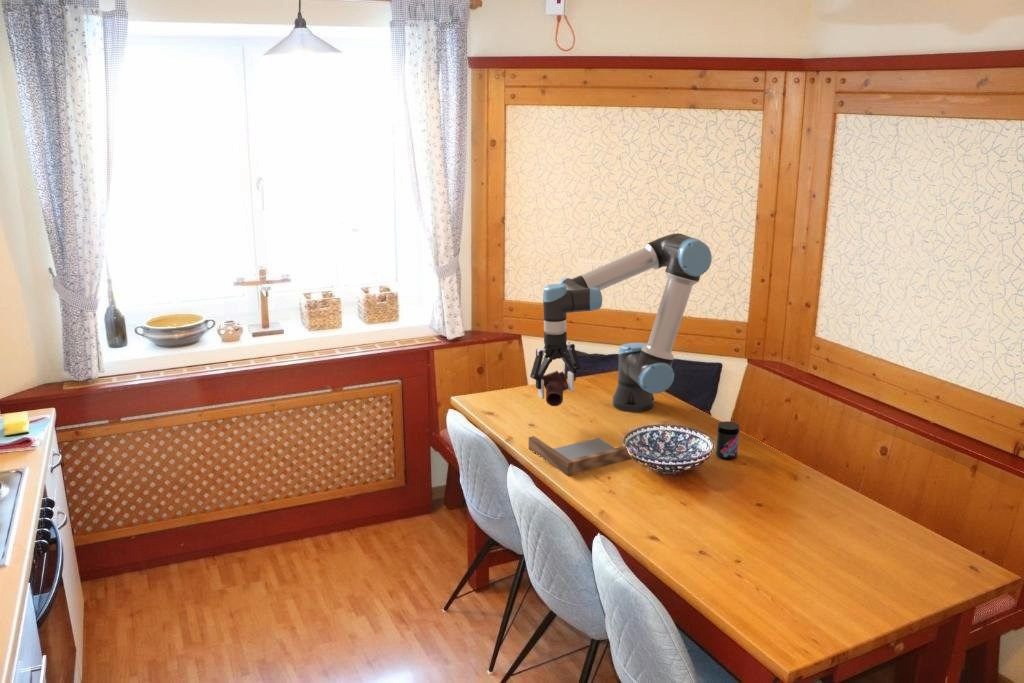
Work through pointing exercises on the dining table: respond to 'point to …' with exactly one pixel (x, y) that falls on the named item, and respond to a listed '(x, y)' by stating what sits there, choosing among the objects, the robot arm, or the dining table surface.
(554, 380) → the bracket
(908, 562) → the dining table surface
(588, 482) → the dining table surface
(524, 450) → the dining table surface
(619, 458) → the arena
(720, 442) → the supplement container
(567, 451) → the mat
